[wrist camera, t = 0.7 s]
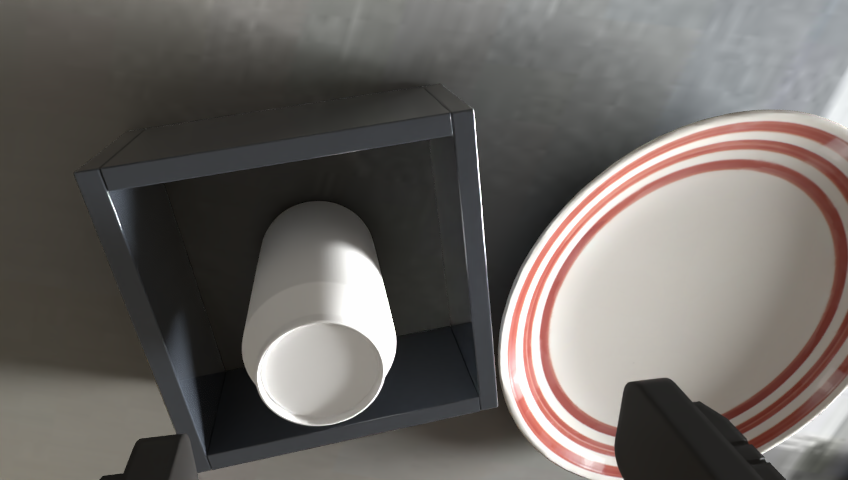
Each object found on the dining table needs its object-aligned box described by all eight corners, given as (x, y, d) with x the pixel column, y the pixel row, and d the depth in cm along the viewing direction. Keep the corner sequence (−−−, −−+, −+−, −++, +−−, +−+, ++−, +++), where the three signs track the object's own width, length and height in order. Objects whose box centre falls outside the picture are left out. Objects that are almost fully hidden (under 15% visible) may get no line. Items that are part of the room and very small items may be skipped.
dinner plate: (630, 512, 47) (651, 548, 44) (399, 321, 36) (407, 352, 32) (919, 289, 42) (966, 313, 39) (760, -7, 31) (808, -6, 28)
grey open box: (125, 131, 28) (71, 172, 22) (440, 82, 30) (474, 108, 24) (213, 387, 35) (191, 475, 29) (466, 335, 37) (498, 407, 31)
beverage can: (335, 311, 34) (346, 459, 24) (241, 263, 32) (205, 404, 21) (393, 230, 33) (433, 348, 22) (299, 174, 31) (292, 275, 20)
